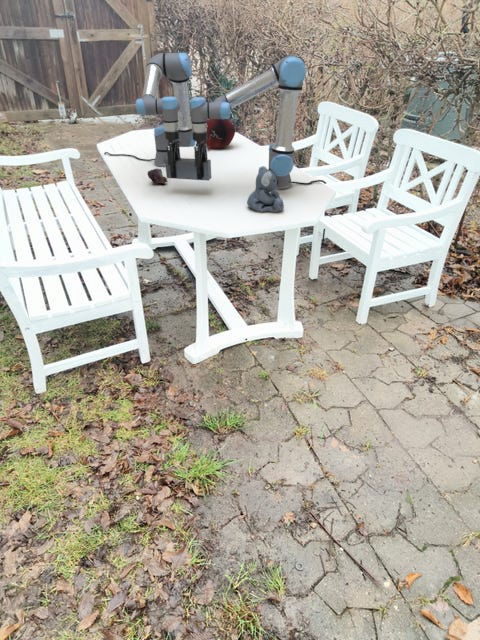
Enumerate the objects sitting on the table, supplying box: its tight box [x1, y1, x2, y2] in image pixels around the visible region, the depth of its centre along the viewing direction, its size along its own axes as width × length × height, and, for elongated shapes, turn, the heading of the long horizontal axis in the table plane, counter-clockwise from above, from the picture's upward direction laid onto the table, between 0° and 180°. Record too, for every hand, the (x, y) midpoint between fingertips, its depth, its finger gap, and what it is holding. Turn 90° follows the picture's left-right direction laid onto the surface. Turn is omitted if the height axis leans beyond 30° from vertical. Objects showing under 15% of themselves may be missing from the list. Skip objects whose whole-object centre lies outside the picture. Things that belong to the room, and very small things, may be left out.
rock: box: [147, 168, 168, 185], centre depth 259 cm, size 12×9×10 cm
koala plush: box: [246, 165, 285, 213], centre depth 222 cm, size 17×18×20 cm
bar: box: [165, 157, 212, 182], centre depth 239 cm, size 24×5×10 cm, turn 77°
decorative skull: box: [206, 119, 236, 152], centre depth 325 cm, size 21×24×25 cm
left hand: (175, 176), depth 243 cm, fingers closed on bar, 5 cm apart
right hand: (202, 176), depth 240 cm, fingers open, 8 cm apart
